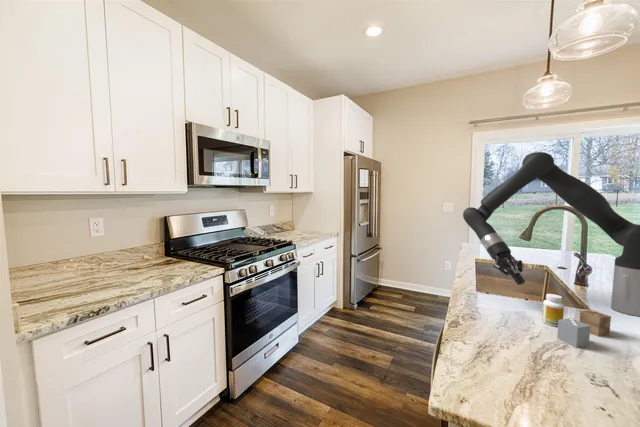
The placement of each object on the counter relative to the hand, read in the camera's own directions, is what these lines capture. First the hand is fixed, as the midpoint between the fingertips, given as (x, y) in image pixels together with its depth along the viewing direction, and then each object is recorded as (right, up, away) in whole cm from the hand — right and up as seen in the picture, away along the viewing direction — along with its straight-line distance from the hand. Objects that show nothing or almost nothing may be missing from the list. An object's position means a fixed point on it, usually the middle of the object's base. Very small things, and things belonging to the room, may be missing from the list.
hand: (522, 283), depth 102 cm
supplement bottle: (+2, -11, -10) cm, 15 cm away
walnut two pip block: (+11, -11, -16) cm, 23 cm away
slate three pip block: (-2, -12, -22) cm, 25 cm away
